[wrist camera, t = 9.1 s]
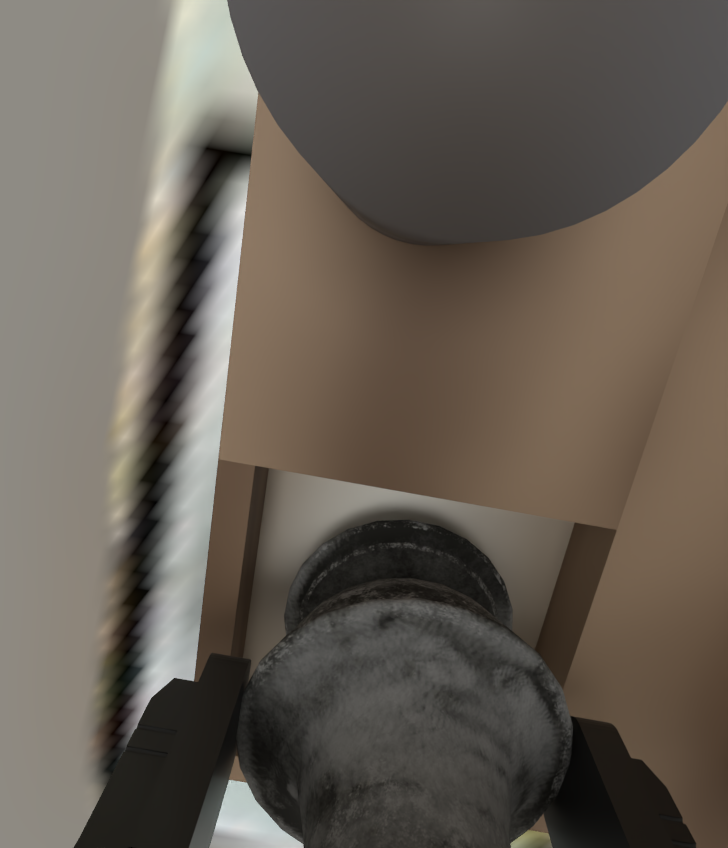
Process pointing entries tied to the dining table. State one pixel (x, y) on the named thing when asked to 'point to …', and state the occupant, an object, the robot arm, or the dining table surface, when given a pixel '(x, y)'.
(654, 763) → the wooden peg stand
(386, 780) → the grey chess piece
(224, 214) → the dining table surface
